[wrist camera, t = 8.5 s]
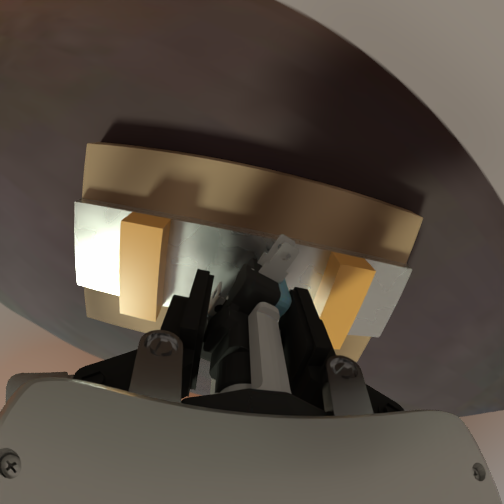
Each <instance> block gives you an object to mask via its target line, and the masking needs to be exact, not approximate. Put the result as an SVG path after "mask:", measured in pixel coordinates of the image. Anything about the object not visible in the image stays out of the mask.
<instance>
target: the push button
mask: <svg viewBox="0 0 504 504" xmlns="http://www.w3.org/2000/svg"><path fill="white" fill-rule="evenodd" d="M281 243H282V245H281V246H280V248H279V249H278V245H279V244H281ZM294 245H295V241H294V240H292V239H291V238H289V237H287V236H285V235H284V234H281V235H280V236H279V237H278V239H277V240H276V241H275V243H274V244H273V246H272V247H271V249H270V250H269V252H268V253H266V252H264V253H263V255H262V256H261V258H260V259H259V261H258V260H256V259H255V258H251V259H250V260H249V262H248V263H245V264H244V265H243V266H242V268H241V269H240V271H239V272H238V274H237V276H236V279H235V282H234V284H233V286H232V287H231V289H230V290H229V292H228V293H227V295H226V296H225V298H223V297H221V296H220V294H221V289H222V282H219V284H218V285H217V287H216V288H215V290H214V292H213V293H212V295H211V297H210V303H209V309H208V310H209V311H208V314H207V320H206V326H205V332H204V338H203V344H202V350H201V357H200V358H202V359H205V360H207V361H210V372H209V373H210V376H211V377H212V382H211V393H210V395H204V396H198V397H190V398H185V399H183V400H182V401H181V403H182V404H188V405H193V406H199V407H205V408H212V409H219V410H227V411H236V412H245V413H256V414H269V415H288V416H327V413H326V412H325V411H324V410H322V409H319V408H317V407H315V406H313V405H311V404H309V403H307V402H306V401H304V400H302V399H300V398H298V397H296V396H294V395H292V393H291V390H290V385H289V380H288V374H287V369H286V363H285V358H284V352H283V342H282V337H281V330H280V329H279V326H278V320H279V319H280V318H281V316H282V315H284V314H285V312H286V311H287V310H288V309H289V307H290V305H291V302H292V300H291V296H290V293H289V290H288V287H287V283H286V280H285V278H286V276H287V275H288V272H286V270H287V269H288V268H289V266H290V265H291V264H292V262H293V261H294V259H295V258H296V257H297V255H298V254H299V249H298V248H296V247H294ZM289 253H290V255H291V256H290V258H289V259H287V260H285V258H286V257H287V255H288V254H289ZM216 292H217V293H216ZM215 294H216V295H215ZM214 296H215V297H214Z"/></svg>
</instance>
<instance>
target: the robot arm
mask: <svg viewBox="0 0 504 504" xmlns="http://www.w3.org/2000/svg"><path fill="white" fill-rule="evenodd" d="M213 281H214V275H210V271H206V270H201V269H197V272H196V275H195V278H194V282H193V285H192V288H191V291H190V295H189V297H184V296H179V295H173V297H172V300H171V302H170V305H169V307H168V310H167V312H166V315H165V318H164V320H163V323H162V326H161V328H160V330H153V331H149V332H147V333H145V334H144V335H143V336H142V337H141V339H140V342H139V346H138V349H137V350H134V351H131V352H128V353H125V354H122V355H119V356H116V357H113V358H110V359H107V360H103V361H100V362H97V363H94V364H91V365H87V366H85V367H82V368H80V369H79V370H78V371H77V372H76V373H75V375H68V373H67V372H52V373H20V374H15V375H14V376H12V377H11V378H10V379H9V381H8V383H7V386H6V404H5V405H4V407H3V409H2V410H1V411H0V504H502V502H501V498H500V496H499V492H498V490H497V487H496V485H495V482H494V480H493V478H492V475H491V472H490V470H489V468H488V466H487V463H486V461H485V459H484V457H483V455H482V453H481V451H480V449H479V447H478V445H477V443H476V441H475V439H474V438H473V436H472V434H471V433H470V431H469V429H468V428H467V427H466V425H465V424H464V422H463V421H462V420H461V419H460V418H459V417H457V416H456V415H453V414H451V413H448V412H443V411H439V410H411V411H404V409H403V408H402V407H401V406H400V405H399V404H398V403H396V402H395V401H393V400H391V399H390V398H388V397H386V396H385V395H383V394H381V393H380V392H378V391H376V390H375V389H373V388H371V387H370V386H368V385H367V384H365V381H364V377H363V374H362V371H361V368H360V366H359V365H358V364H357V363H356V362H355V361H354V360H352V359H350V358H348V357H346V356H342V355H336V354H335V351H334V348H333V346H332V343H331V341H330V338H329V336H328V333H327V331H326V328H325V326H324V323H323V321H322V320H321V319H320V318H319V316H318V313H317V310H316V308H315V305H314V303H313V300H312V298H311V295H310V293H309V291H308V289H305V288H299V287H295V288H294V289H293V290H292V289H290V290H289V293H290V296H291V300H292V302H291V305H290V307H289V309H288V310H287V311H286V312H285V314H284V315H282V316H281V318H280V319H279V322H278V326H279V329H280V330H281V337H282V342H283V352H284V358H285V363H286V369H287V374H288V380H289V385H290V390H291V393H292V395H294V396H296V397H298V398H300V399H302V400H304V401H306V402H307V403H309V404H311V405H313V406H315V407H317V408H319V409H322V410H324V411H325V412H326V413H327V416H288V415H269V414H256V413H245V412H236V411H227V410H219V409H212V408H205V407H199V406H193V405H188V404H182V403H181V399H182V398H184V397H186V396H189V391H190V389H194V390H195V389H196V382H197V376H198V369H199V363H200V357H201V350H202V344H203V338H204V332H205V326H206V320H207V314H208V309H209V303H210V297H211V292H212V286H213Z"/></svg>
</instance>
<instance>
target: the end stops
mask: <svg viewBox="0 0 504 504" xmlns="http://www.w3.org/2000/svg"><path fill="white" fill-rule="evenodd" d="M170 224H171V219H169V218H163V217H158V216H153V215H147V214H142V213H136V212H132V213H130V214H129V215H128V216H126V217H125V218H124V219H122V220H121V225H120V245H119V306H120V313H121V314H125V315H129V316H133V317H137V318H141V319H145V320H149V321H153V322H156V320H157V318H158V315H159V313H160V310H161V308H162V304H163V290H164V278H165V268H166V258H167V248H168V240H169V232H170ZM375 273H376V271H375V269H374V268H373V267H372V266H371V265H370V264H369V263H368V262H367V261H366V260H365V259H364V258H359V257H355V256H350V255H346V254H341V253H337V252H332V251H331V254H330V257H329V260H328V263H327V266H326V269H325V271H324V274H323V277H322V280H321V283H320V285H319V288H318V291H317V293H316V296H315V299H314V301H313V303H314V305H315V308H316V310H317V313H318V316H319V318H320V319H321V320H322V321H323V323H324V326H325V328H326V331H327V333H328V336H329V338H330V341H331V343H332V346H333V348H334V349H339V350H340V348H341V346H342V344H343V342H344V340H345V338H346V336H347V334H348V332H349V330H350V328H351V326H352V324H353V322H354V320H355V318H356V316H357V314H358V312H359V309H360V307H361V305H362V303H363V301H364V298H365V296H366V294H367V292H368V289H369V287H370V285H371V282H372V280H373V278H374V275H375Z"/></svg>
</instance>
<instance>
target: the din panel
mask: <svg viewBox="0 0 504 504" xmlns="http://www.w3.org/2000/svg"><path fill="white" fill-rule="evenodd" d="M82 198H84V199H90V200H96V201H102V202H108V203H114V204H120V205H125V206H131V207H137V208H142V209H148V210H153V211H159V212H164V213H170V214H175V215H180V216H186V217H191V218H196V219H201V220H206V221H212V222H217V223H222V224H227V225H232V226H237V227H242V228H247V229H252V230H257V231H261V232H266V233H271V234H276V235H281V234H284V235H285V236H287V237H290V238H295V239H299V240H304V241H309V242H313V243H318V244H322V245H327V246H331V247H336V248H340V249H345V250H349V251H354V252H358V253H362V254H367V255H371V256H375V257H380V258H384V259H388V260H392V261H397V262H401V263H405V264H406V262H407V260H408V257H409V255H410V252H411V250H412V247H413V245H414V242H415V239H416V237H417V234H418V231H419V228H420V226H421V223H422V220H423V217H421V216H419V215H417V214H415V213H413V212H412V211H409V210H407V209H404V208H401V207H398V206H395V205H392V204H389V203H386V202H384V201H381V200H378V199H374V198H371V197H368V196H365V195H362V194H359V193H356V192H352V191H349V190H346V189H342V188H339V187H336V186H332V185H329V184H325V183H321V182H318V181H314V180H310V179H307V178H303V177H299V176H295V175H291V174H287V173H283V172H279V171H275V170H270V169H266V168H262V167H257V166H253V165H248V164H243V163H239V162H234V161H229V160H224V159H218V158H213V157H208V156H202V155H196V154H190V153H184V152H178V151H171V150H164V149H157V148H149V147H142V146H133V145H124V144H114V143H103V142H97V143H87V149H86V158H85V167H84V179H83V193H82ZM84 294H85V304H86V312H87V317H89V318H93V319H96V320H99V321H103V322H106V323H110V324H114V325H117V326H121V327H125V328H128V329H132V330H136V331H140V332H144V333H147V332H149V331H153V330H160V328H161V326H162V323H163V320H164V318H165V315H166V312H167V310H168V307H165V306H162V308H161V310H160V313H159V315H158V318H157V320H156V322H153V321H149V320H145V319H141V318H137V317H133V316H129V315H125V314H121V313H120V306H119V296H118V295H114V294H110V293H107V292H103V291H99V290H95V289H92V288H88V287H85V286H84ZM370 338H371V337H369V336H356V335H347V336H346V338H345V340H344V342H343V344H342V346H341V348H340V350H339V349H334V351H335V354H336V355H342V356H346V357H348V358H350V359H352V360H354V361H355V362H357V361H358V359H359V357H360V356H361V354H362V352H363V350H364V349H365V347H366V345H367V343H368V341H369V340H370Z"/></svg>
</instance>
